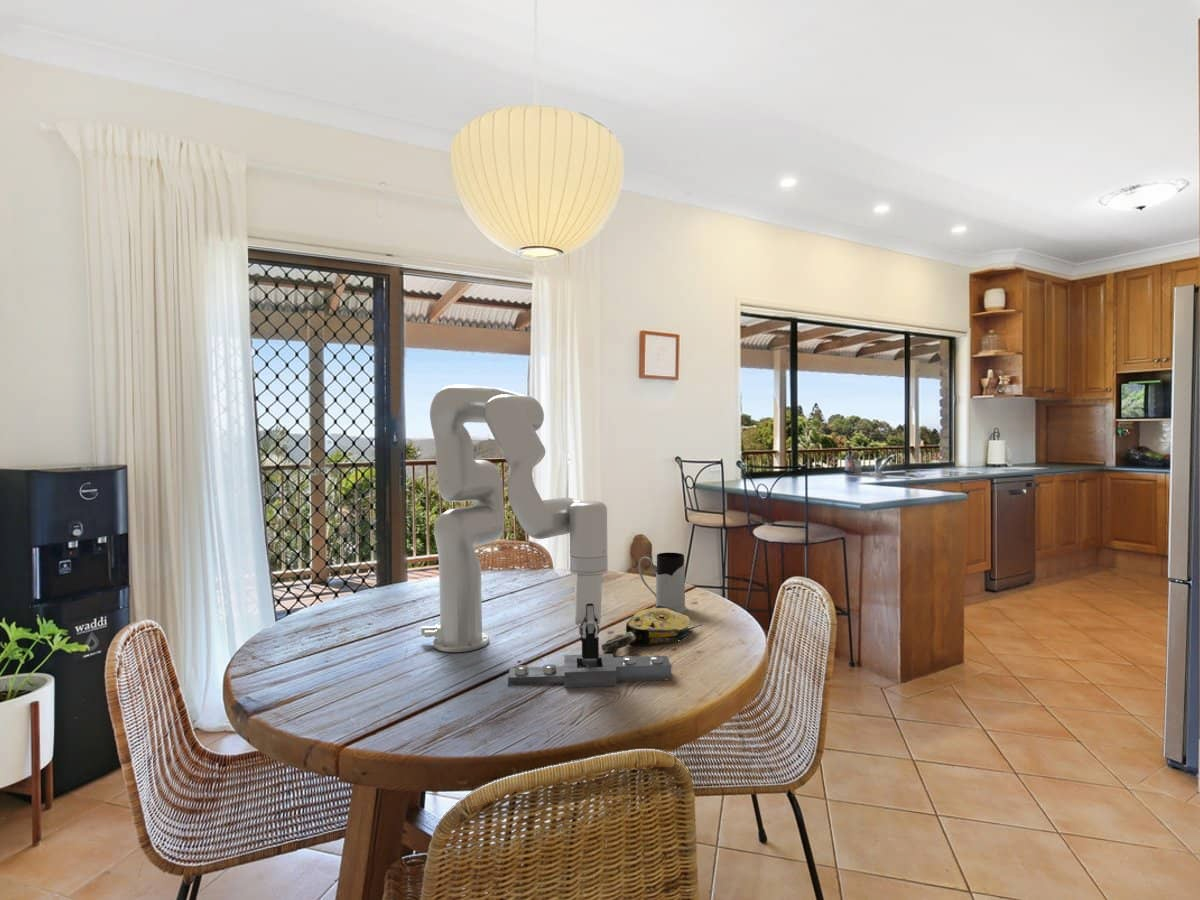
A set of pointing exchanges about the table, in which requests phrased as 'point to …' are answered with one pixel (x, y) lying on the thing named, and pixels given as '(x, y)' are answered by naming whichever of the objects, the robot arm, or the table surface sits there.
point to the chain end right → (619, 668)
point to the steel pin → (588, 662)
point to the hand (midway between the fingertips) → (589, 649)
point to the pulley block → (652, 628)
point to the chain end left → (551, 677)
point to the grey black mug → (669, 581)
